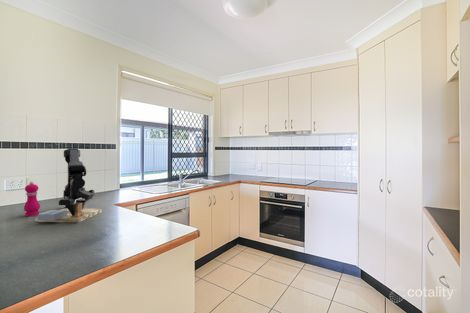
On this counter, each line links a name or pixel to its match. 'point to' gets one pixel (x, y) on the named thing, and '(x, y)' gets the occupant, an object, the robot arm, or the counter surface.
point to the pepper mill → (31, 200)
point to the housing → (52, 215)
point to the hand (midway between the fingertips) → (77, 214)
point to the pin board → (85, 214)
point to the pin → (78, 210)
